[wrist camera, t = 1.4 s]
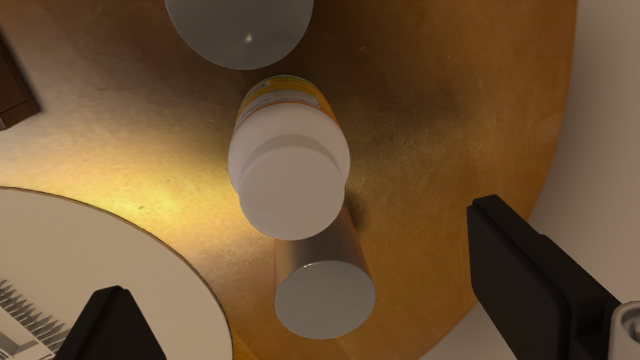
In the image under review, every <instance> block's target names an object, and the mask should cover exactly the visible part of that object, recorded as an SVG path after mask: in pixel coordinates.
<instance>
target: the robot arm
mask: <svg viewBox="0 0 640 360" xmlns="http://www.w3.org/2000/svg"><path fill="white" fill-rule="evenodd" d="M467 224H468V240H469V255H470V270H471V284H472V288H473V291H474V293H475V295H476V297H477V299H478V300H479V302H480V303H481V304H482V306H483V308H484V309H485V311H486V312H487V314H488V315H489V317H490V318H491V320H492V322H493V323H494V325H495V326H496V328H497V329H498V331H499V332H500V334H501V335H502V337H503V338H504V340H505V341H506V343H507V344H508V346H509V347H510V349H511V350H512V352H513V353H514V355H515V357H516V358H517V360H640V301H630V302H628V303H624V304H622V303H621V302H620V301H618V300H617V299H616V298H615V297H614V296H613V295H612V294H611V293H609V292H608V291H607V290H606V289H605V288H604V287H603V286H602V285H601V284H599V283H598V282H597V281H596V280H595V279H594V278H593V277H592V276H591V275H590V274H589V273H587V272H586V271H585V270H584V269H583V268H582V267H581V266H580V265H578V264H577V263H576V262H575V261H574V260H573V259H572V258H571V257H570V256H569V255H568V254H566V253H565V252H564V251H563V250H562V249H561V248H560V247H559V246H558V245H556V244H555V243H554V242H553V241H552V240H550V238H548V237H547V236H546V235H542V234H539V233H538V232H536V231H535V230H534V229H533V228H532V227H531V226H530V225H529V224H528V223H527V222H526V221H525V220H524V219H522V218H521V217H520V216H519V215H518V214H517V213H516V212H515V211H514V210H513V209H512V208H511V207H509V206H508V205H507V204H506V203H505V202H504V201H503V200H502V199H501V198H500V197H499V196H497V195H495V194H493V195H489V196H485V197H481V198H477V199H474V200H473V202H472V205H471V206H468V207H467ZM53 360H167V358H166V355H165V354H164V352H163V350H162V348H161V346H160V344H159V343H158V341H157V339H156V337H155V335H154V334H153V332H152V330H151V328H150V326H149V325H148V323H147V321H146V319H145V317H144V316H143V314H142V312H141V310H140V308H139V307H138V305H137V303H136V301H135V299H134V298H133V296H132V294H131V292H130V291H129V290H128V289H123V288H122V287H121V286H119V285H115V286H111V287H107V288H103V289H99V290H96V291H94V293H93V294H92V295H91V297H90V299H89V300H88V302H87V304H86V305H85V307H84V309H83V310H82V312H81V314H80V315H79V317H78V318H77V320H76V322H75V323H74V325H73V327H72V328H71V330H70V332H69V333H68V335H67V337H66V338H65V340H64V342H63V343H62V345H61V347H60V348H59V350H58V351H57V353H56V355H55V356H54V358H53Z"/></svg>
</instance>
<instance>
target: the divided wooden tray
mask: <svg viewBox="0 0 640 360" xmlns="http://www.w3.org/2000/svg"><path fill="white" fill-rule="evenodd" d="M39 112H40V109H39V108H38V106H37V104H36V102H35V100H34V99H33V97H32V95H31V93H30V91H29V89H28V88H27V86H26V84H25V82H24V80H23V79H22V77H21V75H20V73H19V71H18V69H17V68H16V66H15V64H14V62H13V60H12V59H11V57H10V55H9V53H8V51H7V50H6V48H5V46H4V44H3V42H2V40H1V39H0V131H3V130H7V129H9V128H11V127H13V126H14V125H16V124H18V123H20V122H22V121H24V120H26V119H27V118H29V117H31V116H33V115H35V114H37V113H39Z"/></svg>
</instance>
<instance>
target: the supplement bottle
mask: <svg viewBox="0 0 640 360" xmlns="http://www.w3.org/2000/svg"><path fill="white" fill-rule="evenodd" d="M349 170H350V153H349V148H348V145H347V142H346V139H345V136H344V134H343V132H342V130H341V128H340V126H339V124H338V122H337V120H336V118H335V116H334V114H333V111H332V109H331V107H330V105H329V103H328V101H327V100H326V98H325V97H324V95H323V94H322V92H321V91H320V90H319V89H318V88H317V87H316V86H315V85H313V84H312V83H310V82H309V81H307V80H305V79H303V78H300V77H296V76H291V75H277V76H273V77H269V78H267V79H264V80H262V81H261V82H259V83H257V84H256V85H255V86H254V87H252V88H251V89H250V91H249V92H248V93H247V94H246V96H245V97H244V99H243V101H242V103H241V106H240V108H239V112H238V115H237V119H236V124H235V127H234V131H233V135H232V139H231V143H230V147H229V154H228V171H229V176H230V180H231V183H232V185H233V187H234V189H235V191H236V193H237V194H238V195H239V201H240V205H241V209H242V211H243V213H244V215H245V217H246V218H247V220H248V221H249V222H250V223H251V225H252V226H254V227H255V228H256V229H257V230H259V231H260V232H262V233H263V234H266V235H268V236H270V237H273V238H277V239H282V240H300V239H305V238H308V237H311V236H313V235H316V234H318V233H320V232H321V231H323V230H324V229H325V228H327V227H328V226H329V225H330V224H331V223H332V222H333V221H334V220H335V218H336V217H337V216H338V214H339V212H340V210H341V208H342V204H343V201H344V192H345V189H344V186H345V184H346V181H347V179H348V175H349Z"/></svg>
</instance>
